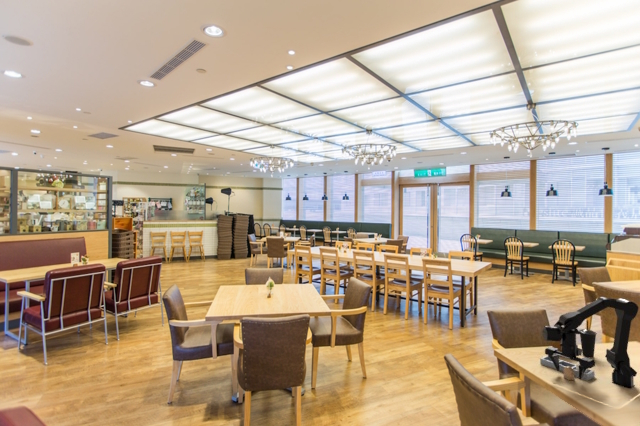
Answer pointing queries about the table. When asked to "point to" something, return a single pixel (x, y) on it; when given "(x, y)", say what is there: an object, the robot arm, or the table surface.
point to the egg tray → (562, 364)
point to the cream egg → (578, 367)
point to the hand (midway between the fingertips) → (569, 374)
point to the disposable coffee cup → (556, 345)
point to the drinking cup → (588, 342)
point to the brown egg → (569, 373)
